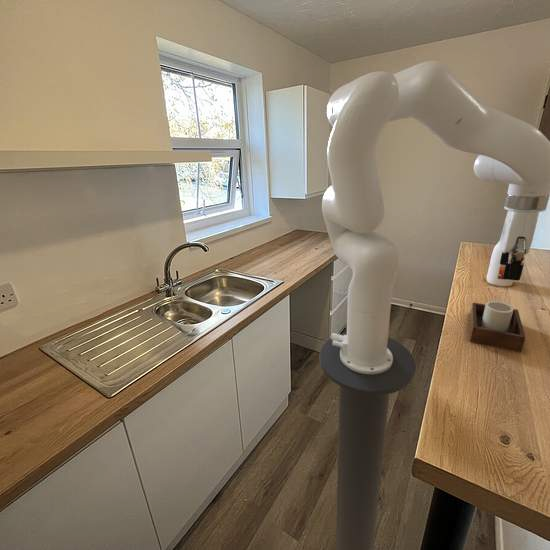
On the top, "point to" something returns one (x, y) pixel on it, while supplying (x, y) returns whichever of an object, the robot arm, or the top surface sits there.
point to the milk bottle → (497, 269)
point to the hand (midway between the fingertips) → (508, 271)
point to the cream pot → (497, 316)
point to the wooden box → (493, 337)
